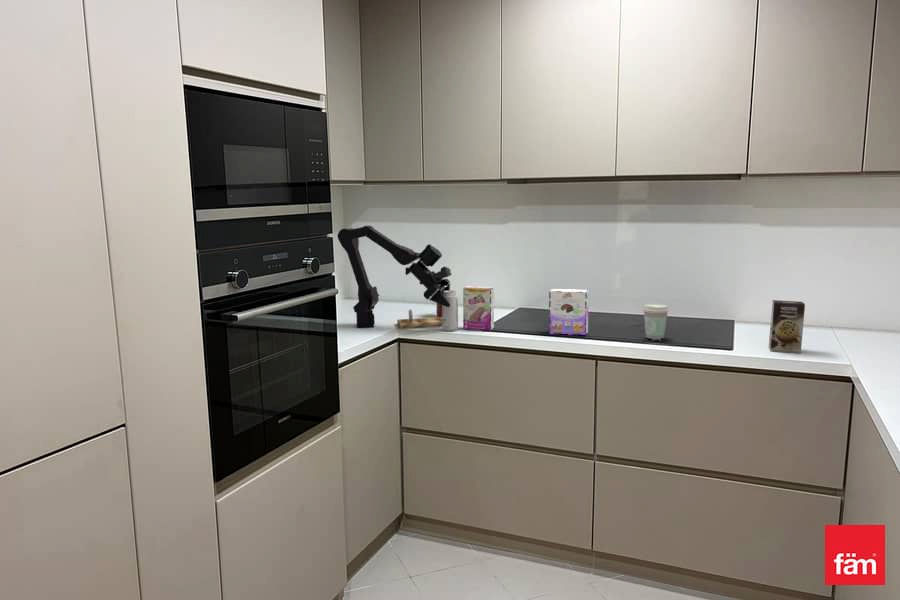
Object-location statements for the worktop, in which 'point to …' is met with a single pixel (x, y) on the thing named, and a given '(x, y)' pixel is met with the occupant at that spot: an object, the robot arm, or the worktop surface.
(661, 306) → the coffee cup
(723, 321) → the worktop surface
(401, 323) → the rack
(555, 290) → the candy box
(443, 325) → the energy drink can
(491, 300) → the candy bar box
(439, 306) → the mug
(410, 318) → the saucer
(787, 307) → the brown cookie box
